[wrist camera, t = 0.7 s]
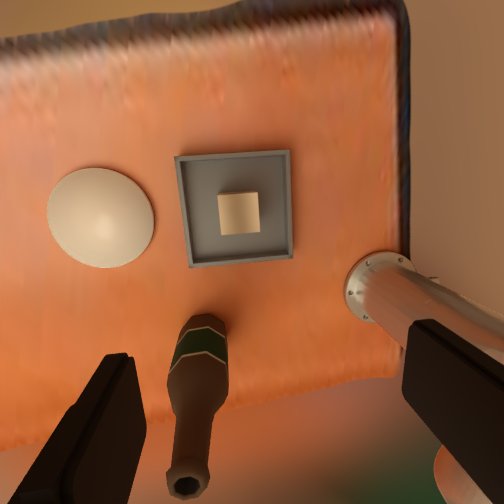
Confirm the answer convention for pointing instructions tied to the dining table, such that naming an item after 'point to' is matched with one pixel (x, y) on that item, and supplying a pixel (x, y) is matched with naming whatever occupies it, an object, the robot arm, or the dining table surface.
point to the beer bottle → (196, 401)
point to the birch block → (238, 212)
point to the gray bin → (232, 180)
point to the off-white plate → (100, 217)
